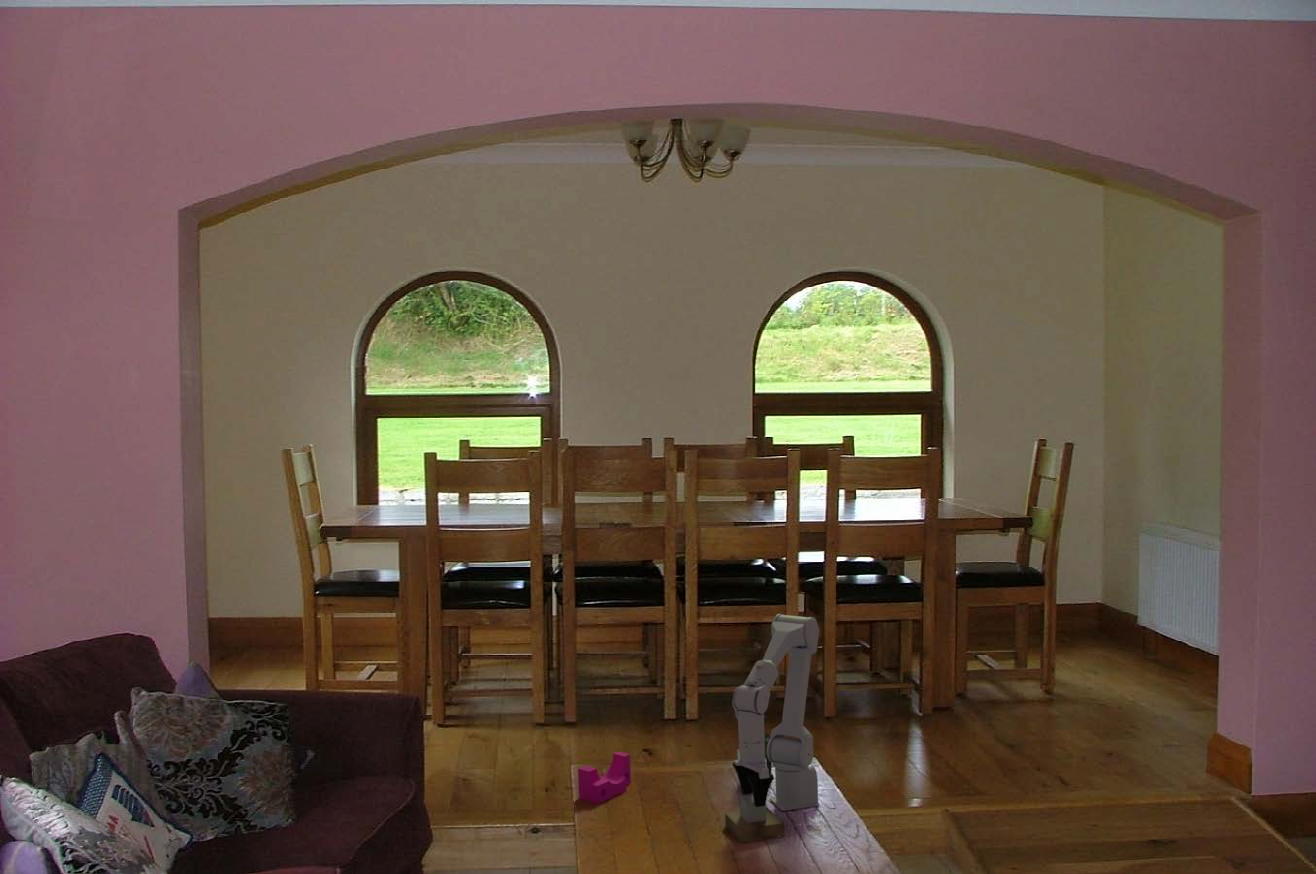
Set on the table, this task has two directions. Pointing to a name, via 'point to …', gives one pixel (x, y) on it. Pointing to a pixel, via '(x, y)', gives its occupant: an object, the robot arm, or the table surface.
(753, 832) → the base block
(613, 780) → the toy block
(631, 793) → the table surface
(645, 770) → the table surface
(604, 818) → the table surface
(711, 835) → the table surface
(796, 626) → the robot arm
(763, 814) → the gray cube
